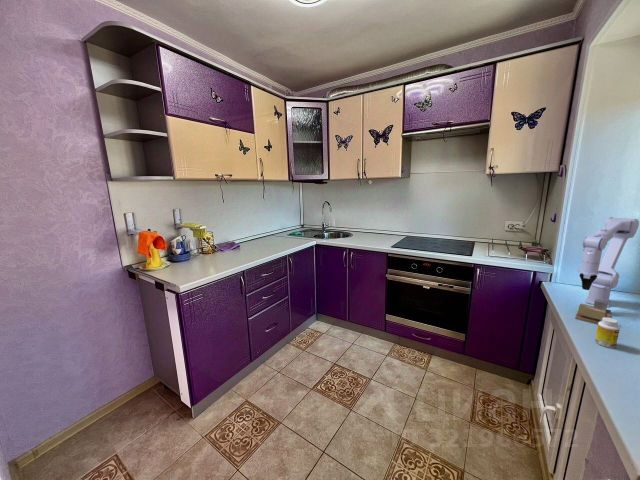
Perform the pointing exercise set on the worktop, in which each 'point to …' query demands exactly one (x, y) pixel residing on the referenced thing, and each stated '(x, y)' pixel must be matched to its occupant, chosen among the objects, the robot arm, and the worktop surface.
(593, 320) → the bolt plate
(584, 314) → the divider leg
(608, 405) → the worktop surface
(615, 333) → the supplement bottle
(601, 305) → the grey piece
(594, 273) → the robot arm
